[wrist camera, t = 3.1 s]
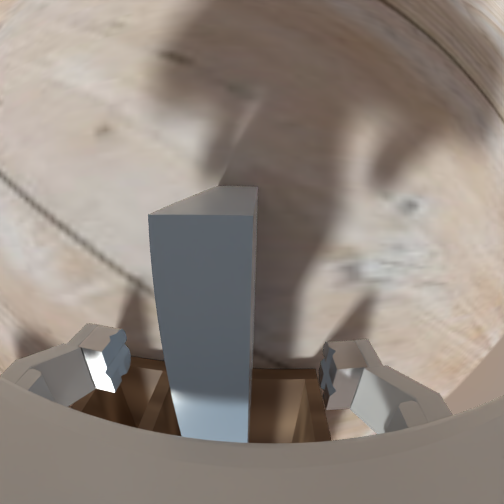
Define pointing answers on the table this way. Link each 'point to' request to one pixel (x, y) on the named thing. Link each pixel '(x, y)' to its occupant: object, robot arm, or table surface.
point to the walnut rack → (261, 412)
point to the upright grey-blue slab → (207, 307)
